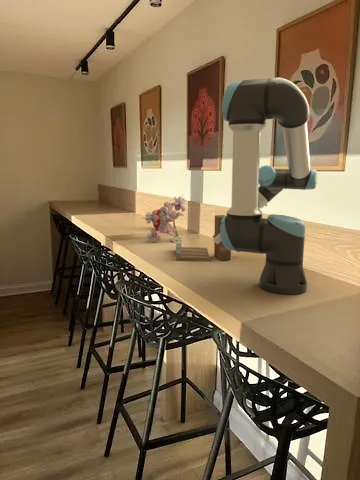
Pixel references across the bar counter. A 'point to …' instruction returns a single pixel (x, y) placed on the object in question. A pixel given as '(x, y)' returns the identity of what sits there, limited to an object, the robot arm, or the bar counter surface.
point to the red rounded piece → (157, 220)
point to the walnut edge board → (190, 253)
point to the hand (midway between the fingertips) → (214, 240)
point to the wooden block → (219, 248)
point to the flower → (166, 219)
